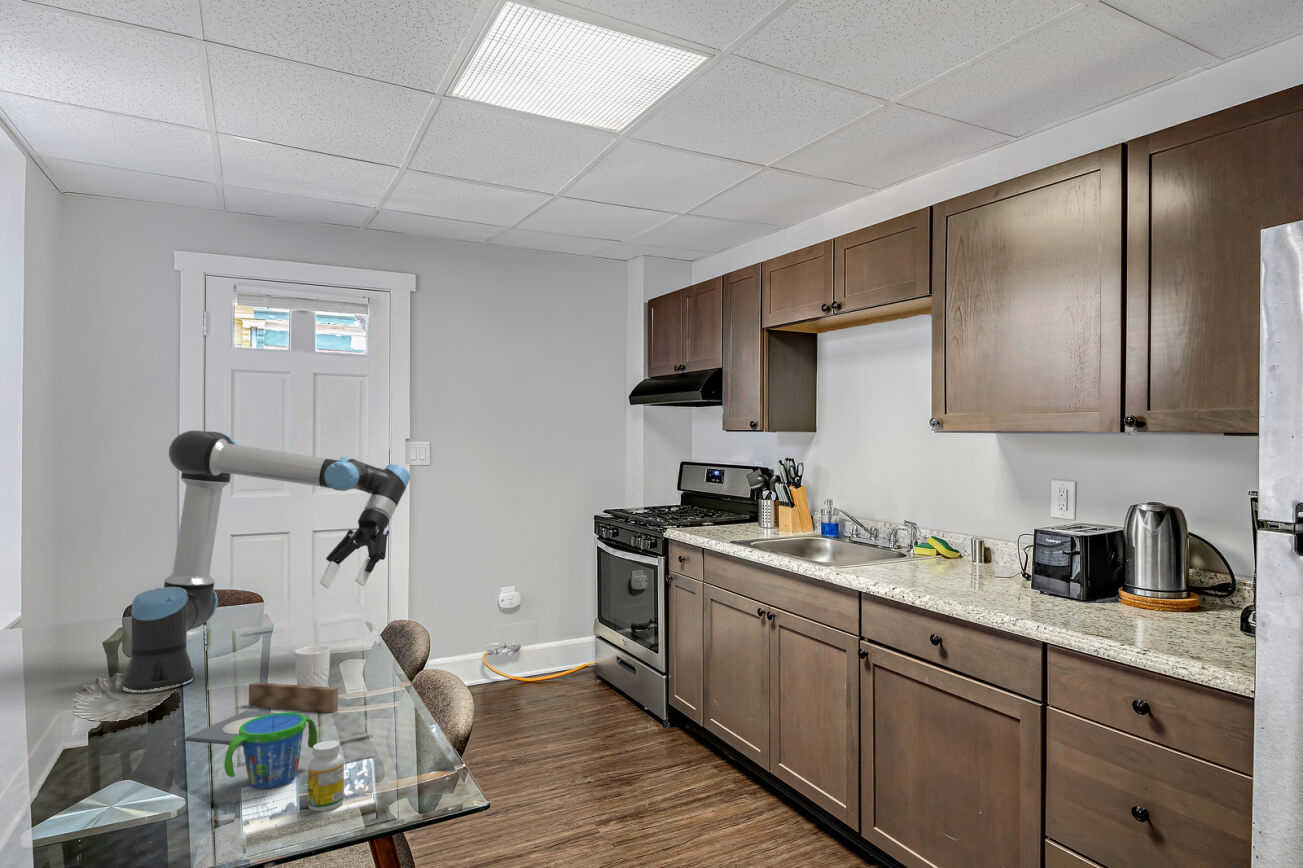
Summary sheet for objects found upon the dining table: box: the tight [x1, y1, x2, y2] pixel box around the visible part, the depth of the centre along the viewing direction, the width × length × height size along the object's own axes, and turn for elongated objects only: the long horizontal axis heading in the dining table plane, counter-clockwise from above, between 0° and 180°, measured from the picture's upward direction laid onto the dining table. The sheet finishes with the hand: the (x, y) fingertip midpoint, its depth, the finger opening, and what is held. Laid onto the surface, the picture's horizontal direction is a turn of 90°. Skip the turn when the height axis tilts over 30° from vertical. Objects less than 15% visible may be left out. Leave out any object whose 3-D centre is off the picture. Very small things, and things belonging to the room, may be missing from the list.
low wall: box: [248, 681, 339, 713], centre depth 168 cm, size 22×2×5 cm, turn 77°
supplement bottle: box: [307, 740, 345, 812], centre depth 120 cm, size 5×5×10 cm
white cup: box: [294, 645, 331, 687], centre depth 180 cm, size 8×8×10 cm
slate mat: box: [185, 710, 310, 746], centre depth 155 cm, size 16×16×1 cm
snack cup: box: [223, 711, 319, 789], centre depth 130 cm, size 16×10×10 cm
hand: (341, 584), depth 190 cm, fingers open, 13 cm apart
